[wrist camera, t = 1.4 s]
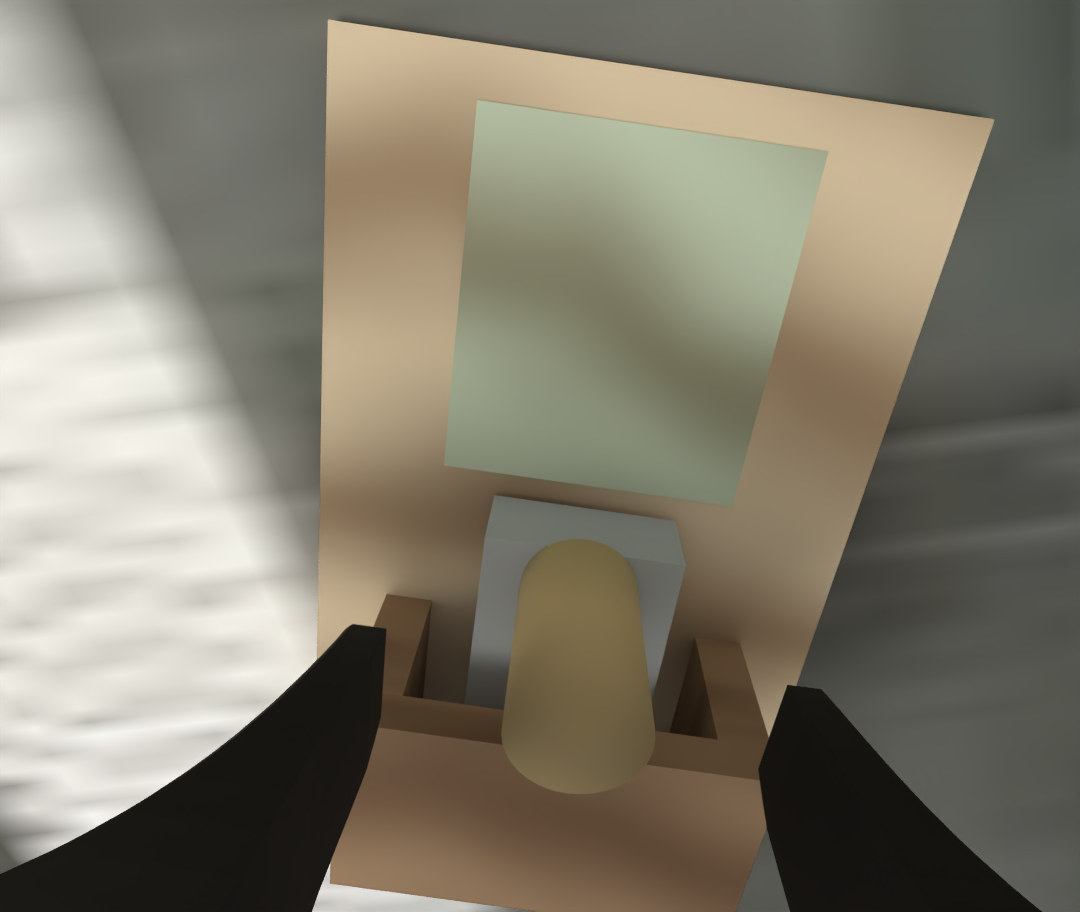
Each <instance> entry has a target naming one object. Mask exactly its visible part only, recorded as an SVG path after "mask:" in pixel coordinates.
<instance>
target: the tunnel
mask: <svg viewBox="0 0 1080 912" xmlns="http://www.w3.org/2000/svg"><path fill="white" fill-rule="evenodd" d="M431 605H432V600H426V599H419V598H412V597H404V596H397V595H390V594H386V597H385V599H384V601H383V604H382V606H381V609H380V611H379V614H378V616H377V619H376V621H375V624H374V626H373V627H379V628H386V645H385V661H384V677H383V693H382V709H381V719H380V722H379V726H378V730H377V734H376V738H375V741H374V745H373V749H372V752H371V756H370V760H369V763H368V767H367V770H366V773H365V776H364V778H363V781H362V783H361V786H360V789H359V791H358V794H357V796H356V799H355V801H354V804H353V806H352V809H351V812H350V814H349V817H348V819H347V822H346V824H345V827H344V829H343V832H342V834H341V837H340V839H339V842H338V844H337V847H336V849H335V852H334V854H333V857H332V859H331V867H330V884H337V885H345V886H352V887H359V888H367V889H374V890H381V891H389V892H396V893H404V894H411V895H418V896H426V897H433V898H440V899H448V900H455V901H462V902H470V903H477V904H484V905H492V906H499V907H506V908H514V909H521V910H528V911H536V912H736V910H737V907H738V904H739V902H740V899H741V896H742V894H743V891H744V888H745V885H746V883H747V880H748V877H749V874H750V872H751V869H752V866H753V863H754V861H755V858H756V855H757V853H758V850H759V847H760V844H761V842H762V839H763V836H764V833H765V831H766V828H767V826H766V820H765V814H764V808H763V801H762V794H761V787H760V779H759V772H758V768H759V765H760V762H761V759H762V756H763V753H764V750H765V748H766V745H767V742H768V739H769V737H768V733H767V730H766V727H765V724H764V720H763V717H762V714H761V710H760V707H759V704H758V701H757V697H756V694H755V691H754V688H753V684H752V681H751V678H750V674H749V671H748V668H747V665H746V661H745V658H744V655H743V651H742V648H741V645H740V644H738V643H731V642H724V641H717V640H710V639H703V638H696V637H695V640H694V644H693V648H692V651H691V655H690V659H689V662H688V666H687V670H686V673H685V677H684V681H683V684H682V688H681V692H680V696H679V699H678V703H677V707H676V710H675V714H674V718H673V721H672V725H671V729H670V732H669V733H666V732H659V731H655V746H654V750H653V753H652V756H651V758H650V759H649V761H648V763H647V764H646V766H645V767H644V768H643V769H642V770H641V771H640V772H639V773H638V774H637V775H636V776H635V777H634V778H632V779H631V780H630V781H628V782H626V783H624V784H623V785H620V786H618V787H616V788H614V789H610V790H607V791H603V792H599V793H592V794H569V793H562V792H557V791H554V790H550V789H547V788H545V787H542V786H540V785H538V784H536V783H534V782H532V781H530V780H529V779H528V778H526V777H525V776H523V775H522V774H521V773H520V772H519V771H518V770H517V769H516V768H515V767H514V766H513V765H512V763H511V762H510V760H509V759H508V757H507V755H506V753H505V751H504V747H503V744H502V737H501V732H502V722H503V714H504V710H501V709H494V708H486V707H479V706H472V705H465V704H458V703H450V702H443V701H436V700H429V699H423V692H424V681H425V670H426V659H427V648H428V637H429V626H430V616H431Z"/></svg>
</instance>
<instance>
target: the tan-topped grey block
mask: <svg viewBox="0 0 1080 912" xmlns="http://www.w3.org/2000/svg"><path fill="white" fill-rule="evenodd" d="M685 568H686V564H685V559H684V555H683V551H682V547H681V543H680V538H679V534H678V530H677V526H676V521H672V520H665V519H658V518H651V517H644V516H637V515H630V514H623V513H616V512H609V511H602V510H595V509H588V508H581V507H574V506H567V505H560V504H553V503H546V502H539V501H532V500H525V499H518V498H511V497H504V496H497V495H494V499H493V503H492V508H491V512H490V517H489V521H488V526H487V530H486V534H485V540H484V549H483V557H482V565H481V573H480V581H479V590H478V598H477V606H476V614H475V623H474V631H473V639H472V647H471V656H470V664H469V672H468V680H467V688H466V697H465V705H472V706H479V707H486V708H494V709H501V710H504V714H503V722H502V732H501V737H502V744H503V747H504V751H505V753H506V755H507V757H508V759H509V760H510V762H511V763H512V765H513V766H514V767H515V768H516V769H517V770H518V771H519V772H520V773H521V774H522V775H523V776H525V777H526V778H528V779H529V780H530V781H532V782H534V783H536V784H538V785H540V786H542V787H545V788H547V789H550V790H554V791H557V792H562V793H569V794H592V793H599V792H603V791H607V790H610V789H614V788H616V787H618V786H620V785H623V784H624V783H626V782H628V781H630V780H631V779H632V778H634V777H635V776H636V775H637V774H638V773H639V772H640V771H641V770H642V769H643V768H644V767H645V766H646V764H647V763H648V761H649V759H650V758H651V756H652V753H653V750H654V746H655V726H654V718H653V710H652V698H653V694H654V690H655V686H656V682H657V678H658V674H659V670H660V667H661V663H662V659H663V655H664V651H665V647H666V643H667V639H668V635H669V631H670V627H671V623H672V619H673V615H674V611H675V607H676V603H677V599H678V595H679V591H680V587H681V583H682V580H683V576H684V572H685Z"/></svg>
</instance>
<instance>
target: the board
mask: <svg viewBox="0 0 1080 912" xmlns="http://www.w3.org/2000/svg"><path fill="white" fill-rule="evenodd" d="M994 120H995V119H989V118H982V117H975V116H968V115H962V114H955V113H948V112H942V111H935V110H928V109H922V108H915V107H908V106H902V105H895V104H888V103H882V102H875V101H868V100H862V99H855V98H848V97H841V96H835V95H828V94H821V93H815V92H808V91H801V90H795V89H788V88H781V87H775V86H768V85H761V84H755V83H748V82H741V81H734V80H728V79H721V78H714V77H708V76H701V75H694V74H688V73H681V72H674V71H668V70H661V69H654V68H648V67H641V66H634V65H628V64H621V63H614V62H607V61H601V60H594V59H587V58H581V57H574V56H567V55H561V54H554V53H547V52H541V51H534V50H527V49H521V48H514V47H507V46H501V45H494V44H487V43H480V42H474V41H467V40H460V39H454V38H447V37H440V36H434V35H427V34H420V33H414V32H407V31H400V30H394V29H387V28H380V27H373V26H367V25H360V24H353V23H347V22H340V21H333V20H328V48H327V106H326V165H325V224H324V283H323V341H322V400H321V459H320V518H319V577H318V635H317V659H318V658H319V657H320V656H321V655H322V654H323V653H324V652H325V651H326V650H327V649H328V648H329V647H330V646H331V644H332V643H333V642H334V641H335V640H336V639H337V638H338V637H339V636H340V634H341V633H342V632H343V631H344V630H345V629H346V628H347V627H349V626H350V625H352V624H357V625H365V626H372V627H373V626H374V624H375V621H376V619H377V616H378V614H379V611H380V609H381V606H382V604H383V601H384V599H385V597H386V594H390V595H397V596H404V597H412V598H419V599H426V600H432V605H431V616H430V626H429V637H428V648H427V659H426V670H425V681H424V692H423V699H429V700H436V701H443V702H450V703H458V704H465V697H466V688H467V680H468V672H469V664H470V656H471V647H472V639H473V631H474V623H475V614H476V606H477V598H478V590H479V581H480V573H481V565H482V557H483V549H484V540H485V534H486V530H487V526H488V521H489V517H490V512H491V508H492V503H493V499H494V495H497V496H504V497H511V498H518V499H525V500H532V501H539V502H546V503H553V504H560V505H567V506H574V507H581V508H588V509H595V510H602V511H609V512H616V513H623V514H630V515H637V516H644V517H651V518H658V519H665V520H672V521H676V526H677V530H678V534H679V538H680V543H681V547H682V551H683V555H684V559H685V564H686V568H685V572H684V576H683V580H682V583H681V587H680V591H679V595H678V599H677V603H676V607H675V611H674V615H673V619H672V623H671V627H670V631H669V635H668V639H667V643H666V647H665V651H664V655H663V659H662V663H661V667H660V670H659V674H658V678H657V682H656V686H655V690H654V694H653V698H652V710H653V718H654V726H655V731H659V732H666V733H669V732H670V729H671V725H672V721H673V718H674V714H675V710H676V707H677V703H678V699H679V696H680V692H681V688H682V684H683V681H684V677H685V673H686V670H687V666H688V662H689V659H690V655H691V651H692V648H693V644H694V640H695V637H696V638H703V639H710V640H717V641H724V642H731V643H738V644H740V645H741V648H742V651H743V655H744V658H745V661H746V665H747V668H748V671H749V674H750V678H751V681H752V684H753V688H754V691H755V694H756V697H757V701H758V704H759V707H760V710H761V714H762V717H763V720H764V724H765V727H766V730H767V733H768V737H769V736H770V733H771V730H772V727H773V725H774V722H775V719H776V716H777V713H778V710H779V707H780V704H781V701H782V699H783V696H784V693H785V690H786V687H787V685H793V686H796V685H797V682H798V679H799V676H800V673H801V670H802V667H803V665H804V662H805V659H806V656H807V653H808V650H809V647H810V645H811V642H812V639H813V636H814V633H815V630H816V627H817V625H818V622H819V619H820V616H821V613H822V610H823V608H824V605H825V602H826V599H827V596H828V593H829V590H830V588H831V585H832V582H833V579H834V576H835V573H836V570H837V568H838V565H839V562H840V559H841V556H842V553H843V550H844V548H845V545H846V542H847V539H848V536H849V533H850V531H851V528H852V525H853V522H854V519H855V516H856V513H857V511H858V508H859V505H860V502H861V499H862V496H863V493H864V491H865V488H866V485H867V482H868V479H869V476H870V473H871V471H872V468H873V465H874V462H875V459H876V456H877V454H878V451H879V448H880V445H881V442H882V439H883V436H884V434H885V431H886V428H887V425H888V422H889V419H890V416H891V414H892V411H893V408H894V405H895V402H896V399H897V396H898V394H899V391H900V388H901V385H902V382H903V379H904V377H905V374H906V371H907V368H908V365H909V362H910V359H911V357H912V354H913V351H914V348H915V345H916V342H917V339H918V337H919V334H920V331H921V328H922V325H923V322H924V319H925V317H926V314H927V311H928V308H929V305H930V302H931V299H932V297H933V294H934V291H935V288H936V285H937V282H938V280H939V277H940V274H941V271H942V268H943V265H944V262H945V260H946V257H947V254H948V251H949V248H950V245H951V242H952V240H953V237H954V234H955V231H956V228H957V225H958V222H959V220H960V217H961V214H962V211H963V208H964V205H965V203H966V200H967V197H968V194H969V191H970V188H971V185H972V183H973V180H974V177H975V174H976V171H977V168H978V165H979V163H980V160H981V157H982V154H983V151H984V148H985V145H986V143H987V140H988V137H989V134H990V131H991V128H992V126H993V123H994Z"/></svg>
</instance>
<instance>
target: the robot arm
mask: <svg viewBox="0 0 1080 912" xmlns="http://www.w3.org/2000/svg"><path fill="white" fill-rule="evenodd" d="M385 645H386V628H379V627H372V626H365V625H357V624H352V625H350V626H349V627H347V628H346V629H345V630H344V631H343V632H342V633H341V634H340V636H339V637H338V638H337V639H336V640H335V641H334V642H333V643H332V644H331V646H330V647H329V648H328V649H327V650H326V651H325V652H324V653H323V654H322V655H321V656H320V657H319V658H318V659H317V660H316V661H315V662H314V663H313V665H312V666H311V667H310V668H309V669H308V670H307V671H306V672H305V673H304V674H303V675H302V676H301V677H299V678H298V679H297V680H296V681H295V682H294V683H293V684H292V685H291V686H290V687H289V688H288V689H287V690H286V691H285V692H284V693H283V694H282V695H281V696H280V697H279V698H278V699H276V700H275V701H274V702H273V703H272V704H271V705H270V706H269V707H268V708H266V709H265V710H264V711H263V712H262V713H261V714H259V715H258V716H257V717H256V718H255V719H254V720H252V721H251V722H250V723H249V724H248V725H247V726H245V727H244V728H243V729H242V730H241V731H240V732H238V733H237V734H236V735H235V736H233V737H232V738H231V739H230V740H228V741H227V742H226V743H225V744H223V745H222V746H221V747H219V748H218V749H217V750H216V751H214V752H213V753H212V754H210V755H209V756H208V757H206V758H205V759H203V760H202V761H201V762H199V763H198V764H197V765H195V766H194V767H192V768H191V769H190V770H188V771H187V772H185V773H184V774H182V775H181V776H179V777H178V778H176V779H175V780H173V781H172V782H170V783H169V784H167V785H166V786H164V787H163V788H161V789H160V790H158V791H157V792H155V793H154V794H152V795H151V796H149V797H147V798H146V799H144V800H143V801H141V802H139V803H138V804H136V805H134V806H133V807H131V808H130V809H128V810H126V811H124V812H123V813H121V814H119V815H117V816H115V817H114V818H112V819H110V820H108V821H106V822H105V823H103V824H101V825H99V826H98V827H96V828H94V829H92V830H90V831H89V832H87V833H85V834H83V835H81V836H79V837H77V838H75V839H74V840H72V841H70V842H68V843H66V844H64V845H62V846H60V847H58V848H56V849H54V850H52V851H50V852H48V853H45V854H43V855H41V856H39V857H37V858H35V859H32V860H30V861H28V862H26V863H24V864H21V865H19V866H17V867H15V868H13V869H11V870H8V871H6V872H4V873H2V874H0V912H312V909H313V907H314V904H315V901H316V898H317V895H318V892H319V890H320V887H321V885H322V882H323V880H324V877H325V875H326V872H327V870H328V867H329V864H330V862H331V859H332V857H333V854H334V852H335V849H336V847H337V844H338V842H339V839H340V837H341V834H342V832H343V829H344V827H345V824H346V822H347V819H348V817H349V814H350V812H351V809H352V806H353V804H354V801H355V799H356V796H357V794H358V791H359V789H360V786H361V783H362V781H363V778H364V776H365V773H366V770H367V767H368V763H369V760H370V756H371V752H372V749H373V745H374V741H375V738H376V734H377V730H378V726H379V722H380V719H381V709H382V693H383V677H384V661H385ZM758 772H759V779H760V787H761V794H762V801H763V808H764V814H765V820H766V826H767V830H768V833H769V837H770V841H771V845H772V848H773V852H774V856H775V859H776V863H777V867H778V870H779V874H780V877H781V881H782V884H783V888H784V891H785V895H786V899H787V902H788V906H789V909H790V912H1042V911H1041V910H1039V909H1038V908H1037V907H1035V906H1034V905H1033V904H1032V903H1031V902H1029V901H1028V900H1027V899H1026V898H1025V897H1023V896H1022V895H1021V894H1020V893H1019V892H1017V891H1016V890H1015V889H1014V888H1013V887H1011V886H1010V885H1009V884H1008V883H1007V882H1006V881H1005V880H1004V879H1002V878H1001V877H1000V876H999V875H998V874H997V873H996V872H995V871H993V870H992V869H991V868H990V867H989V866H988V865H987V864H986V863H984V862H983V861H982V860H981V859H980V858H979V857H978V856H977V855H975V854H974V853H973V852H972V851H971V850H970V849H969V848H968V847H967V846H966V845H965V844H964V843H963V842H962V841H961V840H959V839H958V838H957V837H956V836H955V835H954V834H953V833H952V832H951V831H950V830H949V829H948V828H947V827H946V826H945V825H944V824H943V823H942V822H941V821H940V820H939V819H938V818H937V817H936V816H935V815H934V814H933V813H932V812H931V811H930V810H929V809H928V808H927V807H926V806H925V805H924V803H923V802H922V801H921V800H920V799H919V798H918V797H917V796H916V795H915V794H914V793H913V792H912V791H911V790H910V789H909V788H908V787H907V785H906V784H905V783H904V782H903V781H902V780H901V779H900V778H899V777H898V776H897V775H896V774H895V772H894V771H893V770H892V769H891V768H890V767H889V766H888V765H887V764H886V762H885V761H884V760H883V759H882V758H881V757H880V756H879V755H878V753H877V752H876V751H875V750H874V749H873V748H872V747H871V745H870V744H869V743H868V742H867V741H866V740H865V739H864V737H863V736H862V735H861V734H860V733H859V732H858V731H857V729H856V728H855V727H854V726H853V725H852V724H851V722H850V721H849V720H848V719H847V718H846V717H845V716H844V714H843V713H842V712H841V711H840V710H839V709H838V707H837V706H836V705H835V704H834V703H833V702H832V701H831V700H830V698H829V697H828V696H827V695H826V694H825V693H824V692H823V691H822V690H821V689H814V688H807V687H800V686H793V685H787V687H786V690H785V693H784V696H783V699H782V701H781V704H780V707H779V710H778V713H777V716H776V719H775V722H774V725H773V727H772V730H771V733H770V736H769V739H768V742H767V745H766V748H765V750H764V753H763V756H762V759H761V762H760V765H759V768H758Z"/></svg>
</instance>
